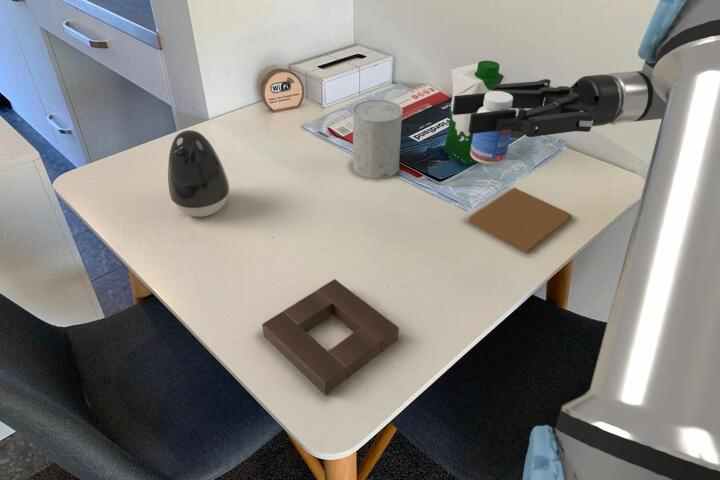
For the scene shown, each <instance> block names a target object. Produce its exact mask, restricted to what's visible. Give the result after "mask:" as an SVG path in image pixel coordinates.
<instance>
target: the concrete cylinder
mask: <svg viewBox="0 0 720 480" xmlns="http://www.w3.org/2000/svg"><path fill="white" fill-rule="evenodd" d="M403 112H404V110H403V107H402V106H401V105H399V104H398V103H397V102H393V101H391V100H386V99H367V100H363V101H361V102H358V103H356V104H355V105H354V106H353V108H352V169H353V171H354V172H355V173H356V174H357V175H359V176H361V177H363V178H367V179H373V180H382V179H386V178H387V179H388V178H390V177H393V176H395V175H396V174H397V173H398V172H399V170H400V154H401V153H400V152H401V138H402V125H403V124H402V123H403Z"/></svg>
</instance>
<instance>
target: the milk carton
mask: <svg viewBox="0 0 720 480" xmlns="http://www.w3.org/2000/svg"><path fill="white" fill-rule="evenodd" d="M500 65H501V64H500V63H498V62H496V61H494V60H493V61H492V60H481V61H479V62H476V63H472V64H468V65H464V66H460V67H456V68H452V69H451V70H450V71H451V82H452V95H451V96H452V98H451V106H450V114H449V120H448V121H449V122H448V129H447V135H446V138H445V143H444V147H445V148H446V149H447V150H446V149H445V148H444V147H443V152H444V153H445V154H446V155H448V156H450V157H451V158H452V159H454V160H456V161H457V162H459V163H460V164H462V165H463V166H465V167H466V166H470V165H472V164H475V163H479V162H478V161H476V160H474V159H473V158H472V157H471V154H470V151H471V144H472V139H473V134H470V133H469V132H468V130H469V124H470V117H471V114H473V113H471V114H461V115H454V114H453V113H452V112H453V104H454V97H455V96H459V95H470V94H480V93H487V92H490V91H492V87H493V85H496V84H506V82H507V80H508V77H509V74H508V73H506V72H503V71H502V70H500ZM448 150H449V151H451V152H452V153H453V154H452V153H451V152H449V151H448ZM454 154H455V155H456V156H455V155H454ZM457 156H458V157H459V158H458V157H457ZM461 159H462V160H461ZM463 160H464V161H465V162H464V161H463ZM471 160H472V161H471Z"/></svg>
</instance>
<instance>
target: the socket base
mask: <svg viewBox="0 0 720 480" xmlns="http://www.w3.org/2000/svg"><path fill="white" fill-rule="evenodd" d="M332 316H333V317H334V318H335V319H336V320H338V321H339V322H340V323H342V324H343V325H344V326H346V327H347V328H348V329H349V330H350V331H352V332H353V333H351V334H350V335H348V336H347V337H345V338H344V339H343V340H342V341H340V342H339V343H337V344H336V345H335V346H333V347H332V348H330V349H329V350H327V349H326V348H325V347H324V346H322V344H320V343H319V342H318V341H317V340H316V339H315V338H313V337H312V336H311V335H310V334H309V333H308V332H310V331H311V330H313V329H314V328H316V327H317V326H319V325H320V324H322V323H323V322H325V321H326V320H327V319H329V318H331V317H332ZM261 327H262V328H261V329H262V333H263V337H264V338H265V339H266V340H267V341H268V342H269V343H270V344H271V345H272V346H273V347H274V348H275V349H276V350H278V352H279V353H281V355H283V356H284V357H285V358H286V359H287V361H288V362H289V363H291V364H292V365H293V366H294V367H295V368H296V369H297V370H298V371H299V372H300V373H301V374H302V375H303V376H304V377H305V378H307V380H309V382H311V383H312V384H313V385H314V386H315V387H316V388H317V389H318V390H319V391H320V392H321V393H322V394H323V395H324V396H327V395H329V394H330V393H331V392H332V391H333V390H335V389H336V388H337V387H339V386H340V385H341V384H343V383H344V382H345V381H346V380H348V379H349V378H350V377H352V376H353V375H355V373H357V372H359V371H360V370H361V369H362V368H364V367H365V366H366V365H367V364H369V363H370V362H372V360H374V359H375V358H377V357H378V356H380V354H382V353H383V352H385V351H386V350H387V349H388V348H390V347H391V346H392V345H394V344H395V343H396V342H398V340H399V333H400V327H399V326H397V325H396V324H395V323H394V322H392V321H391V320H390V319H389V318H387V317H386V316H384V315H383V314H381V312H379V311H378V310H377V309H375V308H374V307H373V306H372V305H370V304H368V303H367V302H366V301H364V300H363V299H362V298H360V296H358V295H357V294H355V293H354V292H352V290H350V289H349V288H347V287H346V286H344V285H343V283H341V282H339V281H338V280H337V279H335V278H334V279H332V280H331V281H328V282H327V283H325V284H324V285H323V286H321V287H319V288H317V289H316V290H315V291H313V292H312V293H310V294H308V295H306V296H305V297H303V298H302V299H300V300H298V301H297V302H295V303H293V304H291V305H290V306H289V307H287V308H285V309H284V310H282V311H281V312H279V313H278V314H276V315H275V316H272V317H271V318H270V319H268V320H266V321H264V322H263V323H262V324H261Z"/></svg>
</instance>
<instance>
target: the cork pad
mask: <svg viewBox="0 0 720 480" xmlns="http://www.w3.org/2000/svg"><path fill="white" fill-rule="evenodd" d="M572 217H573V214H572V213H570V212H568V211H565V210H563V209H561V208H558V207H557V206H555V205H552V204H550V203H549V202H546V201H544V200H542V199H540V198H537V197H535V196H533V195H532V194H529V193H526V192H525V191H522V190H521V189H518V188H516V187H513V188H512V189H510V190H508V191H506V192H505V193H504V194H502V195H500V196H499V197H498V198H496V199H495V200H493V201H491V202H490V203H489V204H487V205H486V206H484V207H482V208H480V209H479V210H478V211H477V212H475V213H473V214H472V215H471V216H469V218H468V222H469V223H470V224H472V225H473V226H476V227H478V228H479V229H482V230H483V231H485V232H487V233H489V234H491V235H492V236H494V237H496V238H497V239H500V240H501V241H504V242H505V243H506V244H509V245H511V246H513V247H514V248H517V249H518V250H520V251H521V252H524V253H526V254H529V253H530V252H532V251H533V250H534V249H535V248H537V247H538V246H539V245H541V243H543V242H544V241H545V240H546V239H548V238H549V237H551V236H552V235H553V234H554V233H556V232H557V231H558V230H559V229H561V228H562V227H563V226H564V225H566V224H567V223H568V222H569V221H571V219H572Z"/></svg>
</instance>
